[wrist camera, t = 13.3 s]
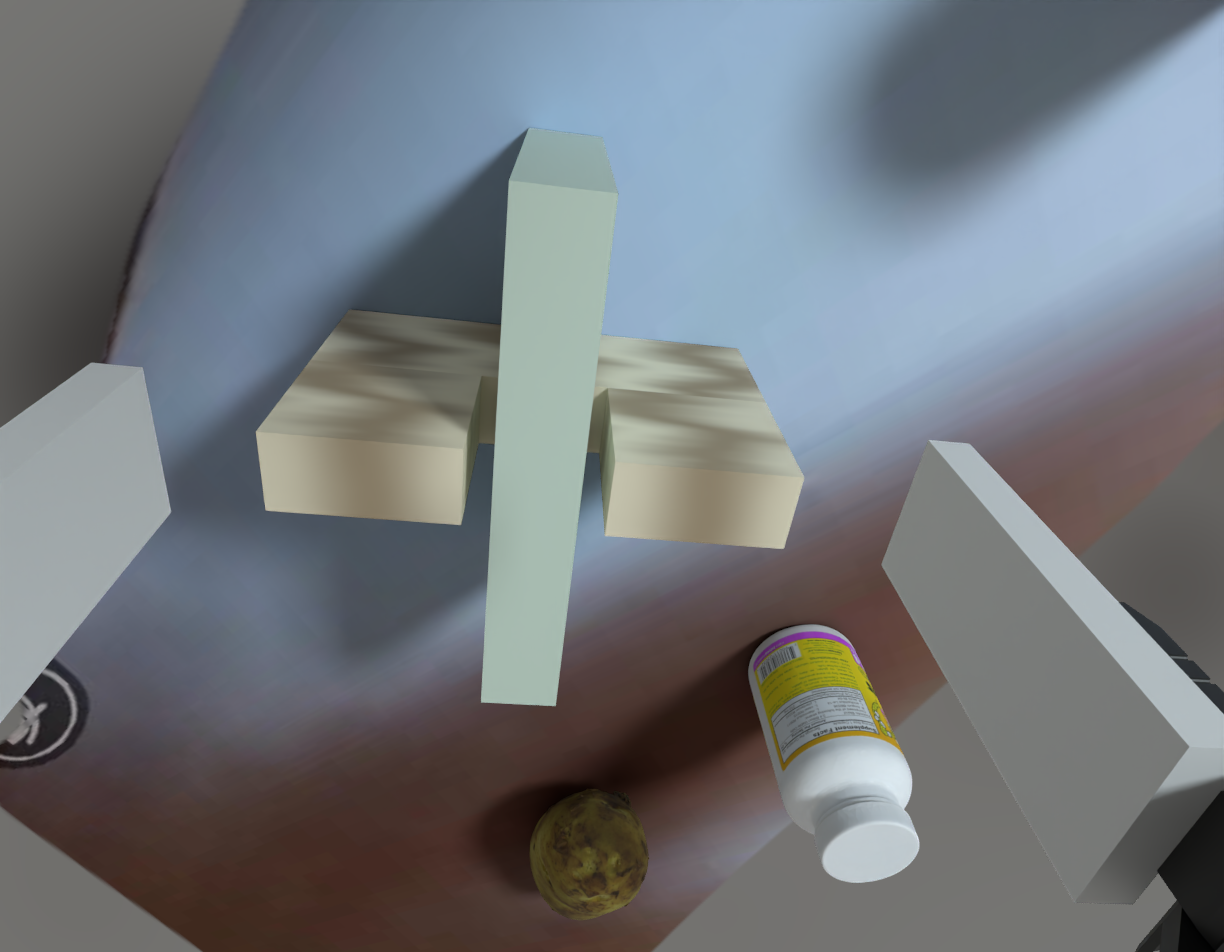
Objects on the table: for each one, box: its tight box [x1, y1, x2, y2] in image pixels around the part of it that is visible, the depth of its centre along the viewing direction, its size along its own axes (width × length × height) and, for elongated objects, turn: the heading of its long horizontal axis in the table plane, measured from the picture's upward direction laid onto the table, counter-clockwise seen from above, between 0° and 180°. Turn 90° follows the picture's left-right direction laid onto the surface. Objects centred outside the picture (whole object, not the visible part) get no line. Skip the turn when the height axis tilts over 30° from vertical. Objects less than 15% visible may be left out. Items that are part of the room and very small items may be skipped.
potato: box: [530, 788, 649, 920], centre depth 50 cm, size 8×13×8 cm, turn 150°
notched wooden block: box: [256, 309, 804, 549], centre depth 31 cm, size 18×3×12 cm, turn 83°
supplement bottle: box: [748, 624, 919, 883], centre depth 42 cm, size 7×7×13 cm
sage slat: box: [481, 128, 618, 706], centre depth 31 cm, size 20×3×12 cm, turn 173°
